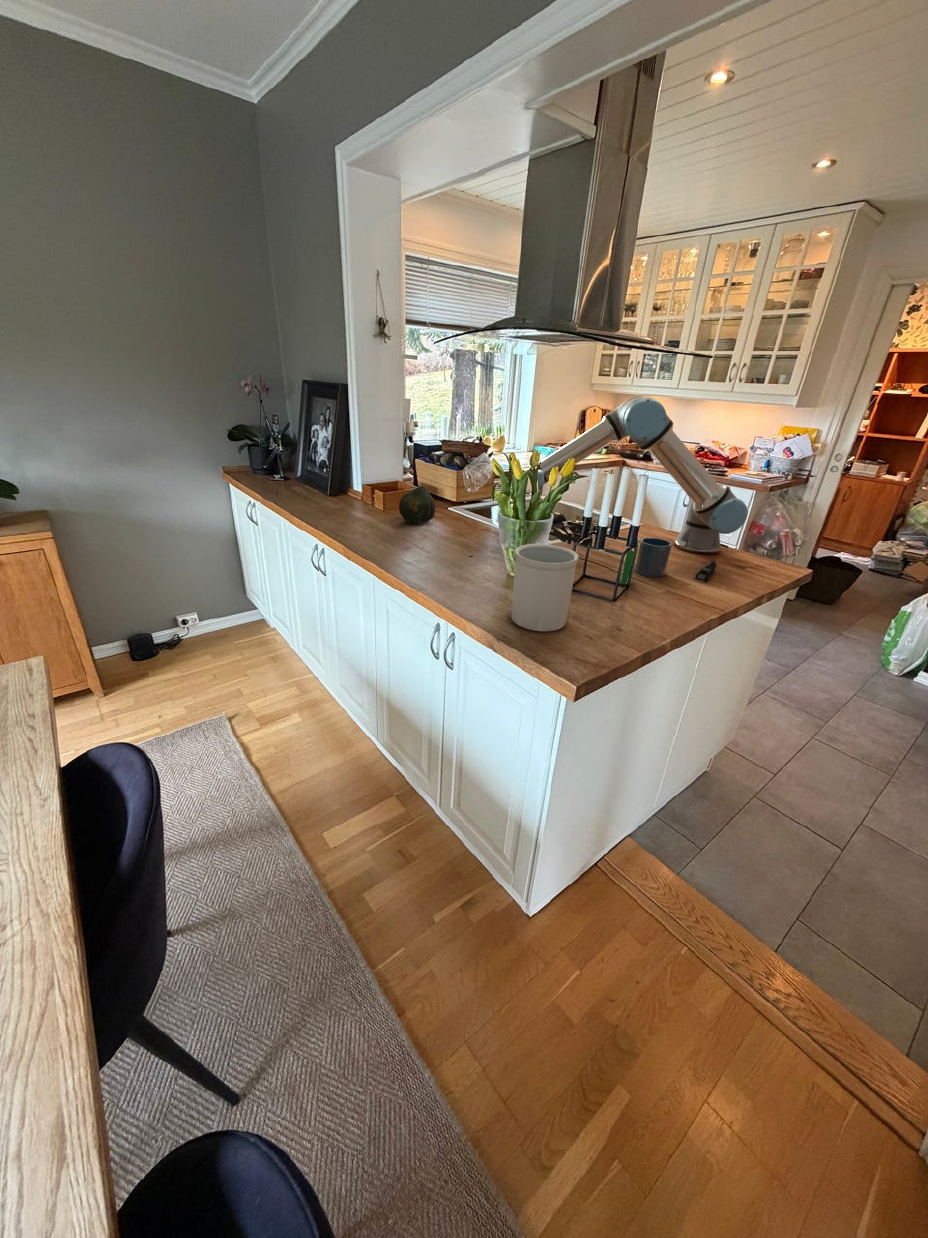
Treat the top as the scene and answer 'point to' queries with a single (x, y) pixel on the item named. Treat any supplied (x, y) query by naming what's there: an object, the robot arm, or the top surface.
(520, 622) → the utensil holder
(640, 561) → the cup
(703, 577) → the electric trimmer
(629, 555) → the green marker
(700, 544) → the robot arm
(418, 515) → the squash
